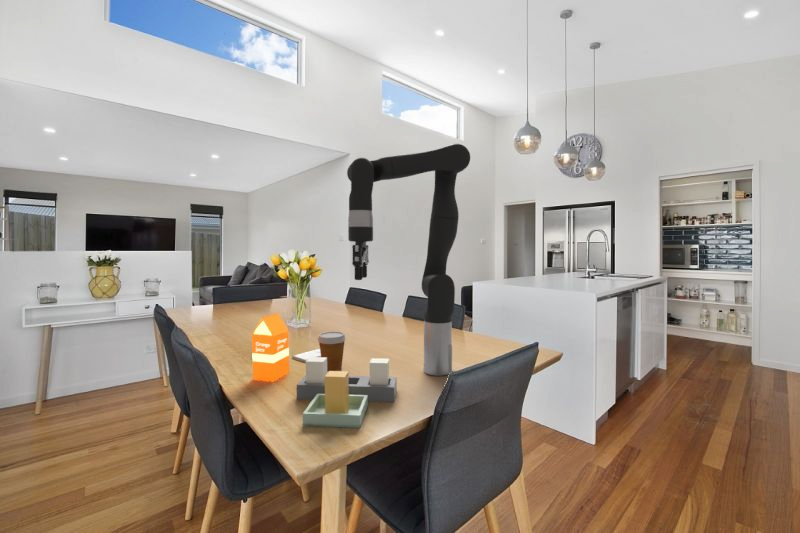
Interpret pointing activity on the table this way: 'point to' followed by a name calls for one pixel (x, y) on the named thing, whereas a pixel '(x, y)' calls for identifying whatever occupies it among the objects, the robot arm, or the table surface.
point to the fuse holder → (352, 389)
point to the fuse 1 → (316, 369)
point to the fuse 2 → (379, 371)
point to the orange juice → (270, 349)
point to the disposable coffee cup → (332, 349)
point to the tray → (352, 419)
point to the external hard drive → (307, 355)
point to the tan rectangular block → (337, 392)
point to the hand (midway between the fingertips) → (361, 278)
